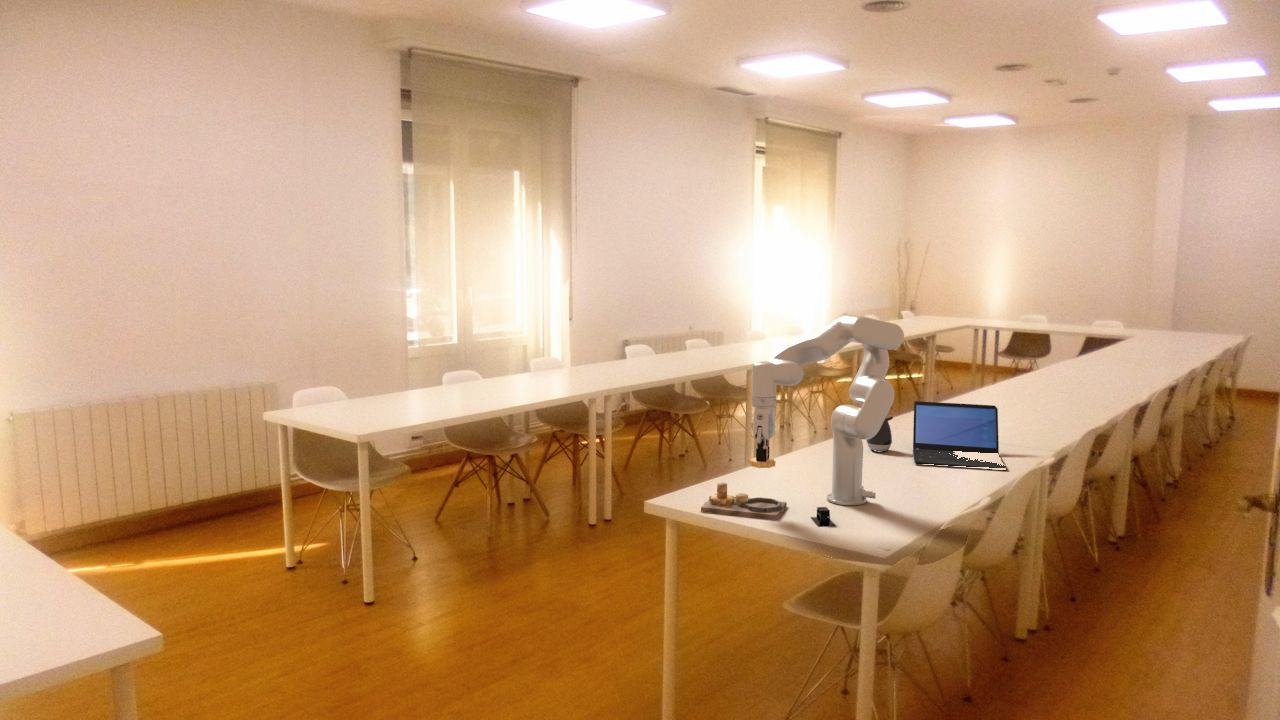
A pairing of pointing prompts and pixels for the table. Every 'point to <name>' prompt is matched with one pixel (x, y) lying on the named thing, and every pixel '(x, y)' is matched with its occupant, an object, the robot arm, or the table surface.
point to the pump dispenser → (881, 437)
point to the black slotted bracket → (823, 517)
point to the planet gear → (759, 464)
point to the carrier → (743, 505)
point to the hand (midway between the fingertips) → (762, 459)
